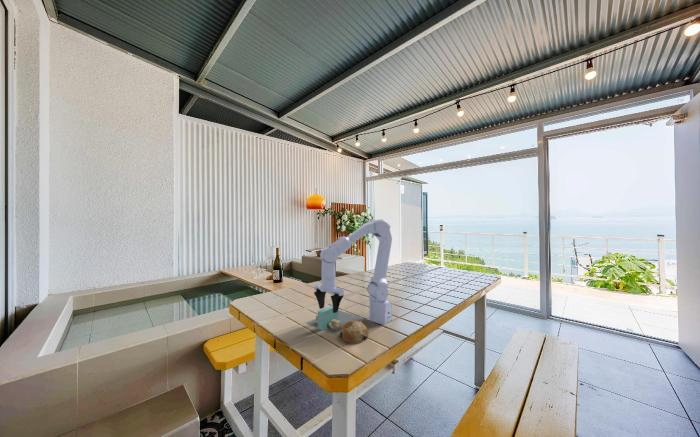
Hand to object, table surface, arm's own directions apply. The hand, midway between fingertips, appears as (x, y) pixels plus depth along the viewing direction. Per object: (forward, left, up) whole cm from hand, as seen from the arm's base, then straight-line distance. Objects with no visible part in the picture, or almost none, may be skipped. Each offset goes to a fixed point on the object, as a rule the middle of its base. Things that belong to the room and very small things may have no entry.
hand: (328, 310), depth 100 cm
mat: (+1, -6, -7) cm, 9 cm away
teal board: (0, 0, -6) cm, 6 cm away
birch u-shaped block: (0, 0, -6) cm, 6 cm away
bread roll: (-14, +1, -7) cm, 16 cm away
